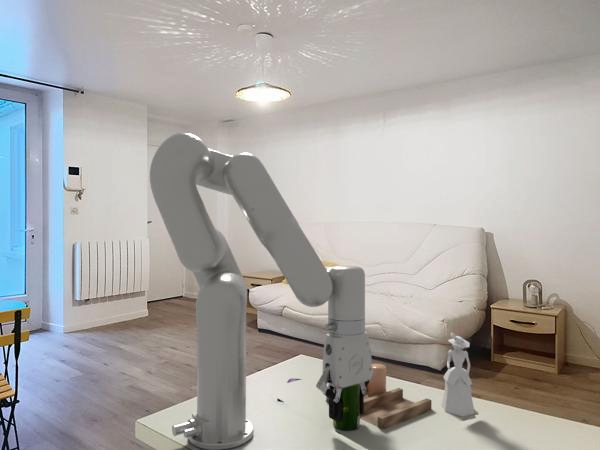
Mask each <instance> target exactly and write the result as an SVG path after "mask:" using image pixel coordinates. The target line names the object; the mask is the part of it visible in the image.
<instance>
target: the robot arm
mask: <svg viewBox="0 0 600 450" xmlns="http://www.w3.org/2000/svg"><path fill="white" fill-rule="evenodd" d="M149 183H150V184H149V185H150V190H151V194H152V196H153V199H154V202H155V204H156V206H157V209H158V211H159V213H160V216H161V218H162V221H163V223H164V226H165V229H166V230H167V233H168V235H169V237H170V239H171V242H172V245H173V246H174V250H175V252H176V254H177V257H178V259H179V262H180V263H181V265H182V266H184V268H185V269H187V270H189V271H191V272H192V273H193V275H194V277H195V281H196V282H197V284H198V286H199V290H198V292H197V297H196V301H195V317H196V334H197V335H196V337H197V340H196V341H197V343H196V344H197V347H196V352H197V353H196V354H197V355H196V357H197V361H196V362H197V366H196V367H197V371H196V372H197V373H196V375H197V376H196V377H197V379H196V380H197V381H196V382H197V383H196V412H192V413H191V418H189V419H188V420H187V421H185V422H179V423H176V424H173V425H171V432H172V435H173V437H176V436H179V435H183V437H184V439H186V438H188V441H189V442H190V443H191V444H192V445H193V446H195V447H196V448H200V449H204V450H229V449H233V448H237V447H240V446H241V445H243V444H245V443H247V442H248V441H250V440H251V439H252V437H253V435H254V425H253V423H252V422H251V421H250V420H249V419H247V417H246V416H247V415H246V413H247V408H246V407H247V402H246V401H247V400H246V399H247V395H246V394H247V305H248V302H247V301H248V286H247V283H246V281H245V278H244V276H243V274H242V272H241V270H240V268H239V266H238V263H237V261H236V258H235V256H234V254H233V252H232V249H231V247H230V245H229V243H228V241H227V239H226V237H225V236H224V234H223V233H222V232H221V231H220V230H219V229H217V228H215V225H214V224H213V222H212V220H211V218H210V215H209V213H208V211H207V209H206V206H205V203H204V201H203V199H202V197H201V194H200V193H199V190H198V188H197V186H199V187H204V188H207V189H210V190H213V191H216V192H219V193H223V194H227V195H230V196H232V197H233V199H234V200H235V203H237V205H238V207H239V209H240V210H241V212H242V214H243V216H244V217H245V219H246V220H247V222H248V224H249V225H250V227H251V228H252V230H253V233H254V234H255V235H256V237H257V239H258V240H259V242H260V243H261V245H263V247H264V248H265V249H266V250H267V251H268V253H269V254H270V256H271V257H272V259H273V260H274V262H275V264H276V266H277V267H278V269H279V270H280V272H281V274H282V276H283V277H284V279H285V280H286V282H287V284H288V286H289V288H290V289H291V291H292V293H293V294H294V296H295V297H296V299H297V301H299V303H301V304H303V305H304V306H307V307H310V308H318V307H321V306H322V305H325V304H326V303H328V304H327V316H328V317H327V323H326V324H325V326H324V328H325V330H326V331H327V333H326V335H325V340H324V344H323V353H322V374H321V376H320V378H319V379H318V381H317V383H316V385H315V387H316V388H317V389H318V391H320V392H322V394H323V396H325V399H326V398H328V399H329V403H328V417H329V419H331V420H335V421H337V422H341V421H342V402H341V401H339V399H340V395H341V390H342V388H346V387H350V386H353V385H355V384H360V414H363V413H364V395H363V394H365V393H366V387H367V385H368V384H369V380H370V379H371V378H372V376H373V375H374V371H373V370H372V364H373V363H372V351H371V350H372V348H371V342H370V337H369V333H368V332H367V331H366V273H365V271H364V269H363V268H362V267H360V266H356V265H336V266H325V265H324V263H323V261H322V260H321V259H320V257H319V255H318V253H317V252H316V250H315V248H314V247H313V246H312V244H311V242H310V240H309V239H308V238H307V236H306V234H305V232H304V231H303V229H302V227H301V226H300V224H299V222H298V220H297V219H296V217H295V216H294V214H293V212H292V211H291V209H290V208H289V206H288V204H287V202H286V200H285V199H284V198H283V196H282V194H281V193H280V190H279V189H278V188H277V187H278V186H276V183H275V182H274V181H273V178H272V177H271V176H270V174H269V173H268V171H267V169H266V167H265V165H264V164H263V163H262V161H261V160H260V159H259V158H258V157H257V156H256V155H254V154H252V153H249V152H241V153H237V154H234V155H229V154H226V153H222V152H220V151H217V150H215V149H214V150H213V149H211V148H208V146H207V145H206V144H205V142H204V141H203V140H202V139H201V138H199V136H197V135H194V134H192V133H188V132H177V133H175V134H172V135H171V136H169V137H168V138H166V139H165V140H164V141H163V142H162V143H161V144H160V146H159V147H157V149H156V151H155V153H154V155H153V157H152V159H151V164H150V169H149ZM334 387H335V388H336V389H335V393H334V392H333V390H334Z"/></svg>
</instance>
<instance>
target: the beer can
mask: <svg viewBox="0 0 600 450" xmlns="http://www.w3.org/2000/svg"><path fill="white" fill-rule="evenodd" d="M335 389H336V388H335V387H334V390H333V392H334V393H335ZM339 401H341V402H342V421H341V422H337V421H335V420H333V419H332V420H333V421H332V424H333V427H334V428H335V429H337V430H339V431H342V432H343V431H345V432H351V431H352V432H353V431H356V430H358V429H359V428H360V426H361V425H360V424H361V423H360V422H361V420H360V419H361V418H360V384H355V385H353V386H350V387H346V388H342V390H341V395H340V399H339ZM337 430H335V432H336V433H337V434H339V435H341V433H340V432H338V431H337Z"/></svg>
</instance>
